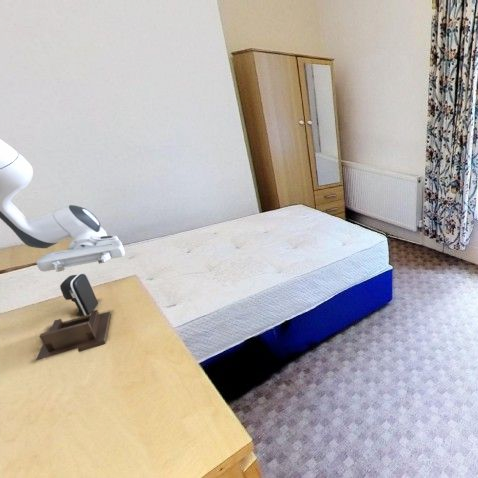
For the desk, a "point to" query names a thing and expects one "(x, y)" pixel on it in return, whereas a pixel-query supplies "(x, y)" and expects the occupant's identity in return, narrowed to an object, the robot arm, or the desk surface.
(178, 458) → the desk surface
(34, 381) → the desk surface
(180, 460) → the desk surface
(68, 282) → the battery charger
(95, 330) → the dock
